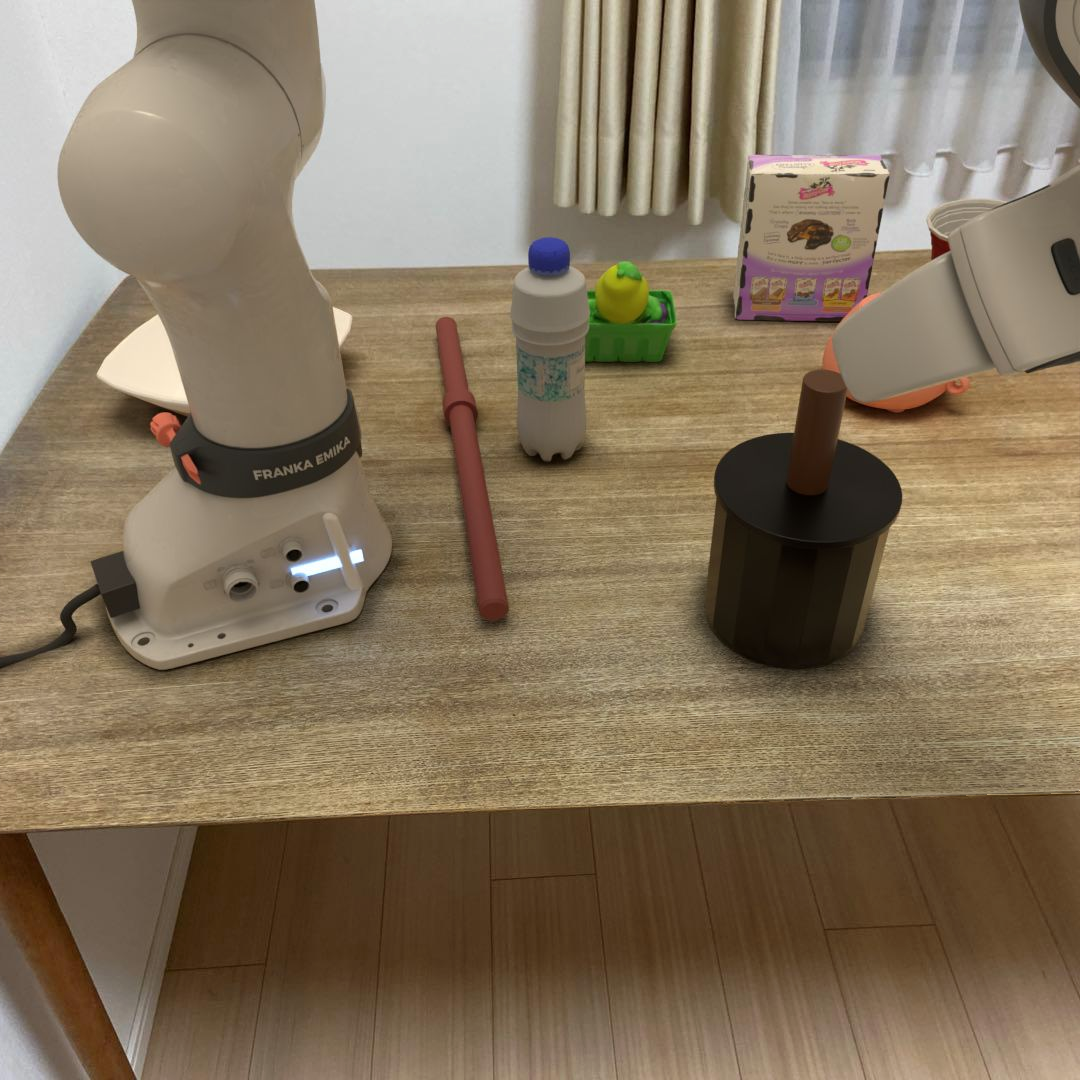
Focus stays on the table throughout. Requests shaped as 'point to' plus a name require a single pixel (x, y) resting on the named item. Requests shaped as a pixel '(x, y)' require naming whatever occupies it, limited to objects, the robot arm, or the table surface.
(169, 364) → the bowl
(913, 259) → the table surface
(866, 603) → the faceted dark cup
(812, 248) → the candy box
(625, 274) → the fruit basket
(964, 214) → the plastic cup
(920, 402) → the sugar bowl
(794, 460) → the lid
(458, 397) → the red brown collared rod
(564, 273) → the bottle
